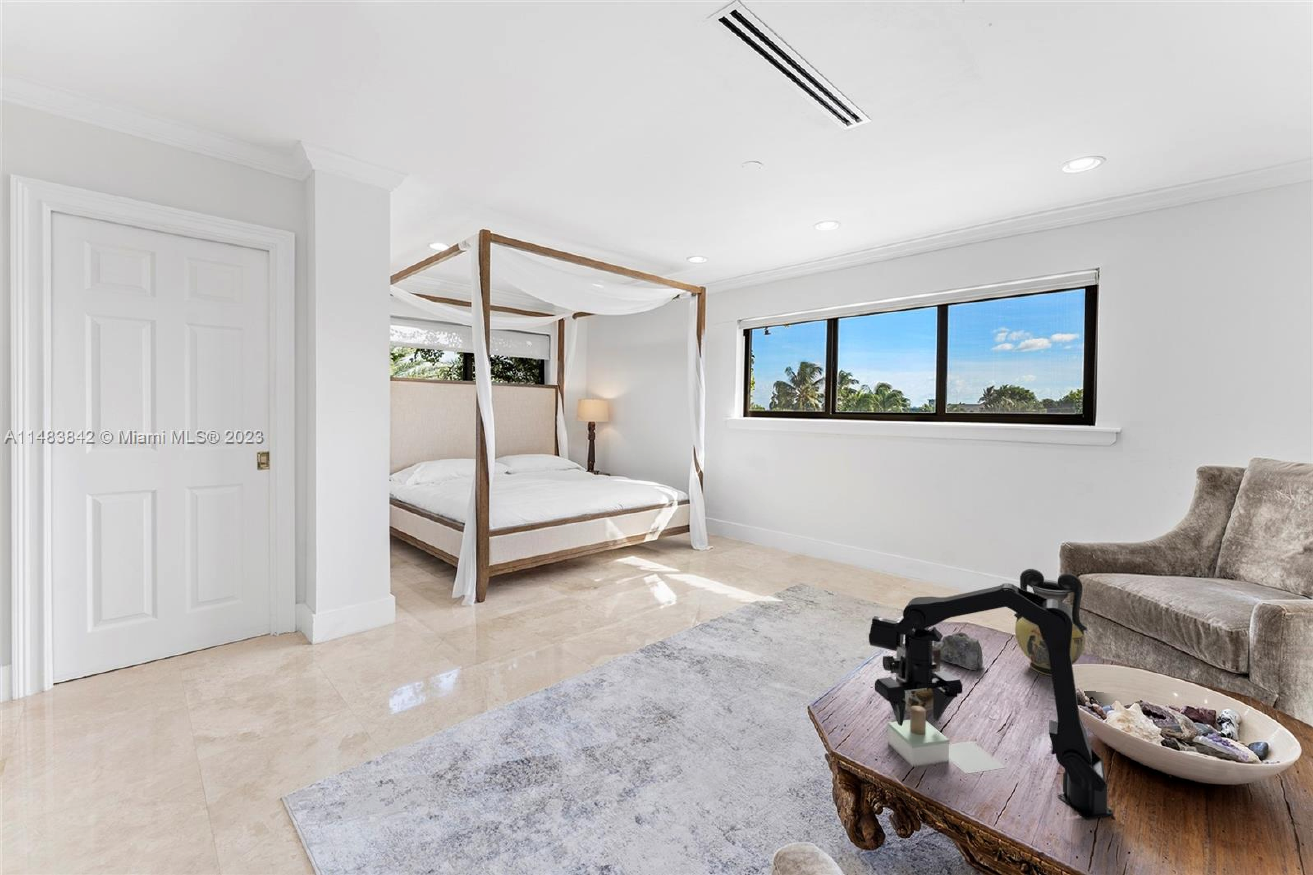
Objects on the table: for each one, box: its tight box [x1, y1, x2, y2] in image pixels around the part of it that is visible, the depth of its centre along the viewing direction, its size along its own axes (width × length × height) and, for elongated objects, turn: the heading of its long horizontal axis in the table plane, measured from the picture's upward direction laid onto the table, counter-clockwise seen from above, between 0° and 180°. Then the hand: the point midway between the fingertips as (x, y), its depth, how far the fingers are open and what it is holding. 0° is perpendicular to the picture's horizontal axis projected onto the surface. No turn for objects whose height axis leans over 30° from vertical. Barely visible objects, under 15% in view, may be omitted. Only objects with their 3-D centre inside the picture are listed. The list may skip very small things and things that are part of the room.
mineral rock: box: [933, 631, 984, 672], centre depth 173 cm, size 13×11×10 cm
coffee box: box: [895, 643, 941, 713], centre depth 148 cm, size 9×6×16 cm
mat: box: [949, 740, 1006, 775], centre depth 126 cm, size 10×10×1 cm
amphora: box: [1014, 568, 1088, 677], centre depth 167 cm, size 18×17×30 cm
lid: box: [887, 706, 950, 748], centre depth 128 cm, size 9×9×6 cm
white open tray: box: [887, 726, 950, 768], centre depth 128 cm, size 9×9×4 cm
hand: (918, 722), depth 128 cm, fingers open, 9 cm apart
